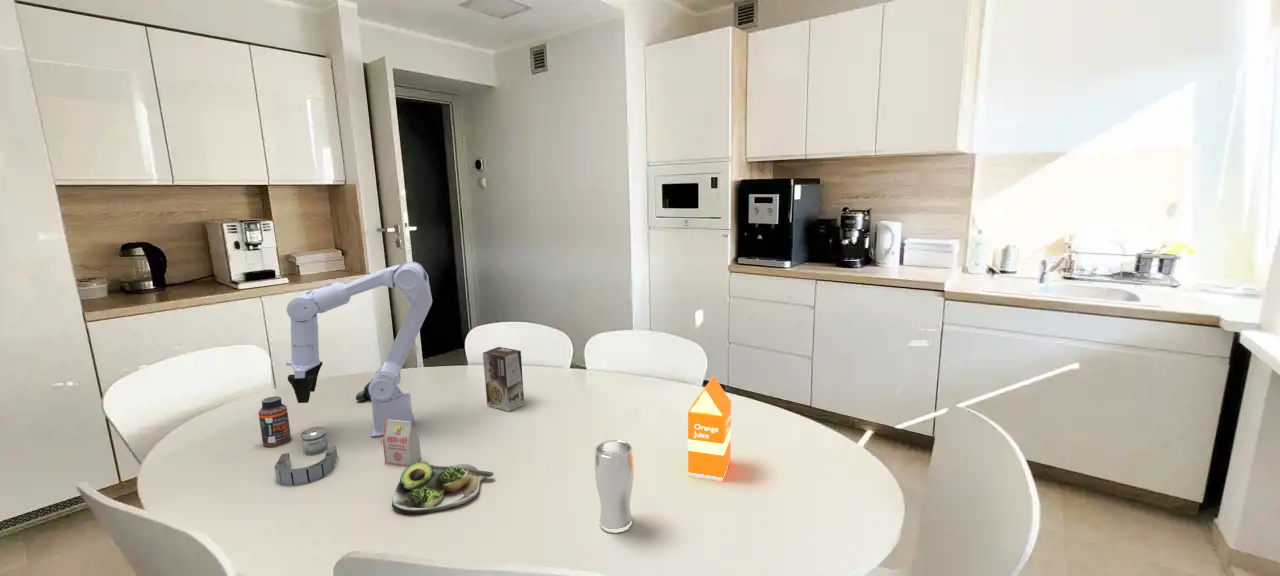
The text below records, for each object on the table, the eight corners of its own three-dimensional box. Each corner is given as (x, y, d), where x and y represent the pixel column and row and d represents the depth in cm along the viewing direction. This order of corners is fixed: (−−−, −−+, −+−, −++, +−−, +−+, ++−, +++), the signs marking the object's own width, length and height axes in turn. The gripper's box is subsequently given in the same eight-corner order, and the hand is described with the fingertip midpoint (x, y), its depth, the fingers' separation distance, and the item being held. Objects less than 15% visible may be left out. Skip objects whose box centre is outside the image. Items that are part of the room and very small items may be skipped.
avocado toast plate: (495, 462, 126) (493, 444, 125) (492, 506, 109) (491, 485, 108) (404, 474, 122) (402, 455, 121) (387, 522, 105) (384, 499, 104)
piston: (329, 444, 136) (327, 425, 136) (326, 453, 132) (323, 433, 131) (306, 447, 135) (303, 428, 134) (301, 457, 130) (298, 437, 129)
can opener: (377, 403, 162) (375, 385, 161) (353, 404, 162) (351, 385, 161) (402, 382, 179) (400, 365, 178) (380, 382, 179) (378, 366, 178)
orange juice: (731, 462, 124) (732, 376, 120) (723, 482, 115) (724, 391, 112) (696, 457, 126) (696, 373, 122) (687, 476, 118) (686, 387, 114)
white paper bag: (396, 456, 130) (391, 415, 128) (421, 459, 128) (417, 418, 126) (385, 463, 126) (380, 422, 124) (410, 466, 125) (406, 425, 123)
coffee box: (525, 404, 158) (522, 350, 155) (509, 412, 153) (505, 356, 150) (502, 398, 163) (499, 345, 160) (486, 406, 158) (481, 351, 155)
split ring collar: (337, 457, 130) (336, 445, 129) (330, 479, 120) (328, 466, 119) (283, 466, 126) (281, 454, 125) (271, 489, 116) (269, 476, 116)
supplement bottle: (277, 448, 135) (270, 404, 133) (257, 446, 136) (249, 403, 134) (297, 437, 140) (291, 395, 138) (277, 435, 142) (270, 393, 140)
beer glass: (596, 513, 105) (594, 440, 102) (633, 511, 106) (631, 438, 103) (597, 536, 98) (594, 458, 96) (636, 534, 99) (634, 456, 96)
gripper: (292, 336, 140) (294, 387, 143) (278, 352, 127) (280, 408, 129) (324, 335, 143) (325, 386, 145) (313, 351, 130) (315, 406, 132)
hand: (306, 396), depth 137 cm, fingers open, 7 cm apart
